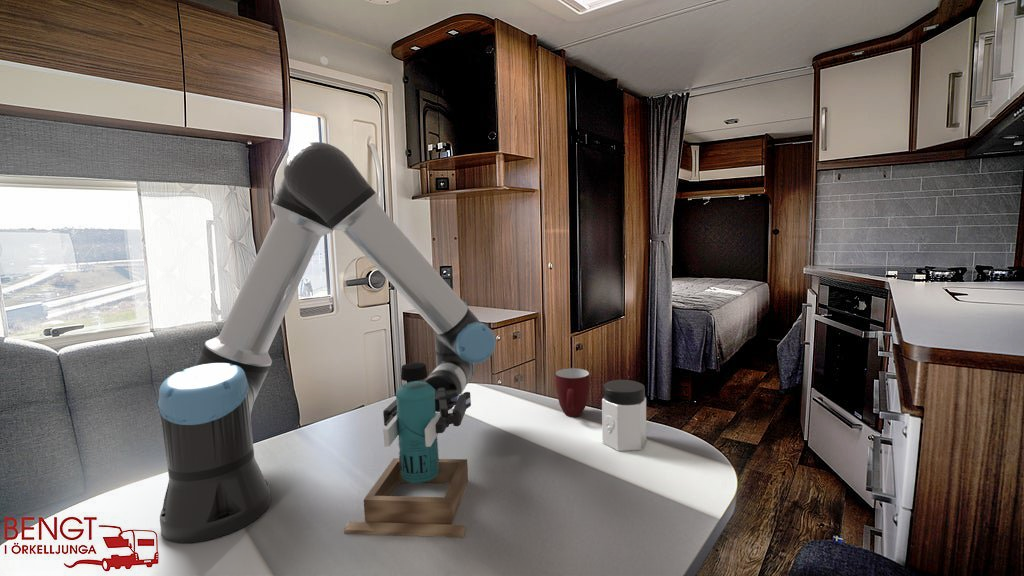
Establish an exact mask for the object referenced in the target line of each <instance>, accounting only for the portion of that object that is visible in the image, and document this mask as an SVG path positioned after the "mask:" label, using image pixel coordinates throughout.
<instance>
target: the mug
mask: <svg viewBox="0 0 1024 576" xmlns="http://www.w3.org/2000/svg"><path fill="white" fill-rule="evenodd" d="M554 377H555V378H554V382H555V390H556V395H557V399H558V404H559V406H560V408H561V410H562V412H563V414H564V415H565V416H567V417H571V418H576V417H579V416H581V415H582V414H583V413H584V410H585V408H586V406H587V404H588V398H589V392H590V385H591V382H590V381H591V379H590V372H589V370H586V369H583V368H575V367H574V368H573V367H569V368H562V369H561V368H560V369H558V370H556V371H555V373H554Z"/></svg>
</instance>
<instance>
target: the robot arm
mask: <svg viewBox="0 0 1024 576" xmlns="http://www.w3.org/2000/svg"><path fill="white" fill-rule="evenodd" d="M377 199H378V193H377V192H376V191H375V190H374V189H373V188H372V186H371V185H370V184H369V182H368V181H367V180H366V179H365V177H364V176H363V175H362V174H361V172H360V170H359V169H357V167H356V166H355V164H354V163H353V161H352V160H351V159H350V157H349V156H348V155H347V154H346V153H344V151H343V150H340V148H338V147H337V146H335V145H332V144H330V143H325V142H321V141H320V142H318V141H316V142H315V141H314V142H308V143H304V144H302V145H299V146H298V147H296V148H295V149H294V150H293V151H292V152H291V153H290V154H289V156H288V158H287V159H286V161H285V164H284V168H283V178H282V180H281V183H280V185H279V187H278V188H277V191H276V193H275V196H274V197H273V200H272V202H271V204H270V207H271V208H272V211H273V212H274V218H273V222H272V223H271V226H270V228H269V229H268V231H267V234H266V235H265V237H264V240H263V242H262V244H261V247H260V248H259V250H258V252H257V255H256V257H255V259H254V261H253V263H252V265H251V267H250V270H249V271H248V274H247V276H246V278H245V281H244V282H243V285H242V287H241V289H240V291H239V292H238V295H237V297H236V299H235V301H234V303H233V306H232V308H231V309H230V312H229V313H228V315H227V319H226V320H225V322H224V325H223V327H222V329H221V331H220V333H219V335H218V336H215V337H213V338H210V339H208V340H205V343H204V344H203V346H202V349H201V351H200V353H199V355H198V357H197V359H196V361H195V363H194V365H193V366H191V367H188V368H184V369H183V370H182V371H178V372H177V371H176V372H174V373H173V374H171V375H169V376H168V377H166V379H164V380H163V382H162V383H161V385H160V386H159V390H158V401H157V406H158V411H159V413H160V421H161V427H162V435H163V441H164V450H165V457H166V465H167V471H168V483H167V487H166V491H165V493H164V494H165V495H164V499H163V504H162V508H161V511H160V515H159V523H160V525H159V526H160V532H161V535H162V537H163V538H164V539H166V540H168V541H170V542H175V543H188V544H189V543H197V542H203V541H204V542H205V541H209V540H212V539H216V538H220V537H222V536H226V535H228V534H231V533H234V532H235V531H238V530H240V529H242V528H244V527H246V526H248V525H250V524H251V523H253V522H254V521H256V520H257V519H258V518H259V517H261V516H262V515H263V514H264V513H265V512H266V511H267V510H268V508H269V506H270V505H271V500H272V499H271V498H272V497H271V490H270V489H271V488H270V485H269V483H268V481H267V480H266V479H265V477H264V475H263V473H262V470H261V468H260V466H259V464H258V462H257V460H256V457H255V450H254V440H253V438H254V437H253V431H252V421H251V420H252V419H251V418H252V415H251V414H252V411H253V407H254V403H255V401H256V399H257V397H258V395H259V392H260V389H261V387H263V386H262V385H263V383H264V381H265V379H266V377H267V375H268V372H269V370H270V368H271V366H272V363H273V361H272V360H273V359H272V357H271V356H270V353H269V350H270V347H271V345H272V343H273V340H274V339H275V337H276V336H277V335H276V334H277V333H278V330H279V328H280V326H281V324H282V322H283V319H284V317H286V316H285V315H286V313H287V311H288V309H289V307H290V305H291V303H292V301H293V297H294V295H295V293H296V292H297V289H298V287H299V285H300V283H301V281H302V279H303V276H304V275H305V272H306V270H307V268H308V266H309V263H310V261H311V260H312V257H313V255H314V253H315V251H316V250H317V249H316V248H317V246H318V244H319V242H320V240H321V238H322V237H324V236H326V235H329V234H331V233H333V232H334V231H341V232H343V234H345V235H346V237H347V238H348V239H349V240H350V241H351V242H352V243H353V244H354V245H355V246H356V247H357V248H358V249H359V251H360V252H361V253H362V254H363V255H364V256H365V257H366V258H367V259H368V260H369V261H370V263H371V264H372V265H373V266H374V267H375V268H376V269H377V270H378V271H379V273H381V275H383V277H385V279H386V280H388V282H389V283H390V284H391V285H392V287H394V288H395V289H396V290H397V292H398V293H399V295H401V296H402V297H403V298H404V299H405V300H406V301H407V302H408V303H409V304H410V306H411V307H412V308H413V309H414V310H415V311H416V312H417V313H418V314H419V316H421V317H422V318H423V319H424V321H425V322H426V323H427V324H428V325H429V326H430V327H431V328H432V329H433V334H434V345H435V346H434V347H435V364H436V367H435V368H434V369H433V371H432V372H431V373H429V375H427V378H425V379H424V380H423V382H426V383H428V384H429V385H431V386H432V387H433V388H434V389H435V411H436V415H435V417H434V418H433V419H431V421H430V422H429V424H428V425H427V427H426V428H425V443H426V447H431V445H432V443H433V442H434V440H435V438H436V437H437V438H438V436H439V434H443V433H444V432H445V431H446V429H447V428H448V427H450V425H452V426H453V427H460V426H461V424H462V421H463V418H464V417H465V414H466V411H467V409H469V408H470V407H471V406H472V402H471V401H472V400H471V392H470V391H466V392H464V391H465V389H466V387H467V385H468V384H469V383H470V382H471V380H472V379H473V376H474V372H475V364H481V363H483V362H485V361H487V360H488V359H490V358H491V356H492V355H493V353H494V351H495V349H496V345H497V344H496V341H497V340H496V335H495V334H494V332H493V331H492V330H491V328H489V327H488V325H487V324H485V323H483V322H482V321H480V320H479V318H477V316H476V315H475V314H474V313H473V312H472V310H470V309H469V307H468V303H467V302H466V301H463V300H462V299H461V298H460V297H459V296H458V294H457V293H456V292H455V291H454V290H453V288H451V286H450V285H449V284H448V283H447V282H446V281H445V279H444V278H443V277H442V276H441V275H440V273H439V272H438V271H437V270H436V269H435V267H433V266H432V264H431V263H430V262H429V261H428V260H427V259H426V257H424V255H423V254H422V253H421V252H420V250H419V249H417V247H416V246H415V245H414V244H413V243H412V241H410V239H409V238H408V237H407V236H406V235H405V233H404V232H403V231H402V230H401V229H400V228H399V226H398V225H397V224H396V223H395V222H394V221H393V219H392V218H391V217H390V216H389V215H388V214H387V213H386V211H385V210H384V209H383V208H382V207H381V206H380V204H379V203H378V201H377ZM396 406H397V400H396V399H395V400H393V401H392V402H391V403H390V404H389V405H388V406H387V407H386V408H385V409H383V414H382V416H383V426H385V427H384V428H383V443H384V447H390V446H391V445H392V444H393V442H394V441H396V439H397V438H398V437H399V433H398V423H397V419H396V415H397V407H396ZM451 409H452V411H451V412H449V411H450V410H451Z"/></svg>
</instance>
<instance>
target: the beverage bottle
mask: <svg viewBox="0 0 1024 576" xmlns="http://www.w3.org/2000/svg"><path fill="white" fill-rule="evenodd" d="M400 373H401V374H400V379H401V380H402V381H405V382H406V383H404V384H401V386H400V387H399V388H397V390H396V392H395V400H397V406H396V407H397V415H396V419H397V423H398V433H399V435H398V437H397V440H398V443H397V445H398V448H399V452H398V458H399V464H400V467H401V469H400V470H401V473H400V474H401V475H402V478H403V479H404V480H405V481H407V482H411V483H410V484H422V483H421V482H426V481H429V480H431V479H433V478H435V477H436V476H437V475H438V472H439V459H440V457H439V443H438V436H437V437H436V438H435V440H434V442H433V443H432V445H431V447H426V443H425V428H426V427H427V425H428V424H429V422H430V421H431V419H433V418H434V417H435V415H436V413H437V412H436V411H435V389H434V388H433V387H432V386H431V385H429V384H428V383H426V382H424V380H426V378H427V377H428V369H427V365H426V363H425V362H424V363H423V362H417V361H416V362H409V363H405V364H403V365H401V371H400Z"/></svg>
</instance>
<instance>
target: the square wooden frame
mask: <svg viewBox="0 0 1024 576" xmlns="http://www.w3.org/2000/svg"><path fill="white" fill-rule="evenodd" d="M400 469H401V467H400V464H399V457H397V458H393V459H392V460H391V461H390V463H389V464H388V465H387V467H386V468H385V469H384V471H383V472H382V473H381V475H380V476H379V477H378V479H377V480H376V482H375V483H374V485H372V487H371V489H370V490H369V491H368V493H367V494H366V496H365V497H364V499H363V512H364V521H349V522H348V523H347V525H346V526H345V528H344V529H343V533H344V534H346V535H347V534H350V535H354V534H355V535H379V536H380V535H381V536H382V535H383V536H384V535H385V536H410V537H412V536H414V537H444V538H464V536H465V533H466V530H467V525H466V524H453V523H454V521H455V518H456V516H457V512H458V510H459V507H460V505H461V502H462V499H463V496H464V494H465V491H466V488H467V486H468V482H469V471H468V470H469V467H468V459H460V458H458V459H457V458H453V459H452V458H439V472H438V475H437V476H436V477H435V478H433V479H431V480H429V481H426V482H421V483H420V484H426V485H427V484H434V485H435V484H437V485H448V486H447V487H448V488H447V490H446V492H445V495H444V497H443V496H442V497H439V496H399V495H398V496H397V495H394V496H393V494H394V492H395V491H394V490H396V489H397V488H398V486H399V484H412V483H411V482H407V481H405V480H404V479H403V478H402V475H401V474H400V473H401V470H400Z"/></svg>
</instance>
